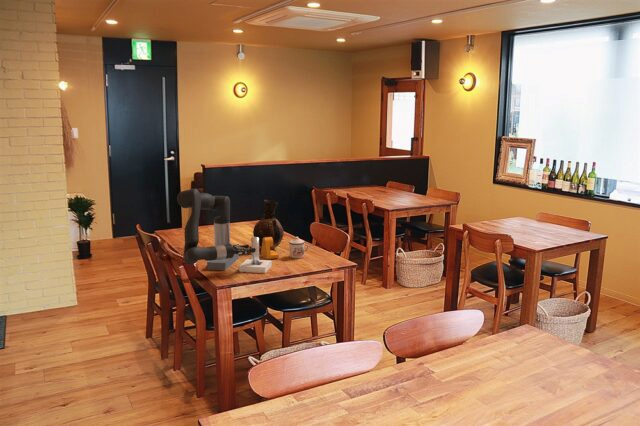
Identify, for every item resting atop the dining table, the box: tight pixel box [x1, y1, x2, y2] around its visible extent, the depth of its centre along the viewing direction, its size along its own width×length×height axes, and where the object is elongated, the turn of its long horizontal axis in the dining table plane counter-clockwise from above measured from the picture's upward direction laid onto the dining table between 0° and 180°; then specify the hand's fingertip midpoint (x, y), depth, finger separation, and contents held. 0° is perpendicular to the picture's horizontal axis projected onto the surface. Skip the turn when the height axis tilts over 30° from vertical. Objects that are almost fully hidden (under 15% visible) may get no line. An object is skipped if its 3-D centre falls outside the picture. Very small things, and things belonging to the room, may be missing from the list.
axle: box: [250, 236, 260, 265], centre depth 304 cm, size 4×4×17 cm
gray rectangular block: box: [206, 254, 240, 271], centre depth 314 cm, size 24×10×4 cm, turn 171°
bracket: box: [260, 237, 280, 260], centre depth 327 cm, size 11×7×12 cm, turn 24°
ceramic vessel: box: [252, 199, 285, 250], centre depth 346 cm, size 21×18×30 cm
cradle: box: [238, 258, 273, 274], centre depth 305 cm, size 14×14×3 cm
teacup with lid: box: [288, 236, 310, 259], centre depth 330 cm, size 12×9×12 cm
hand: (251, 248), depth 302 cm, fingers open, 8 cm apart
